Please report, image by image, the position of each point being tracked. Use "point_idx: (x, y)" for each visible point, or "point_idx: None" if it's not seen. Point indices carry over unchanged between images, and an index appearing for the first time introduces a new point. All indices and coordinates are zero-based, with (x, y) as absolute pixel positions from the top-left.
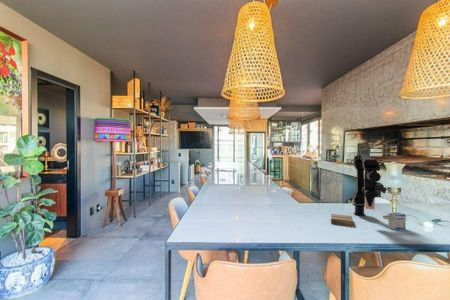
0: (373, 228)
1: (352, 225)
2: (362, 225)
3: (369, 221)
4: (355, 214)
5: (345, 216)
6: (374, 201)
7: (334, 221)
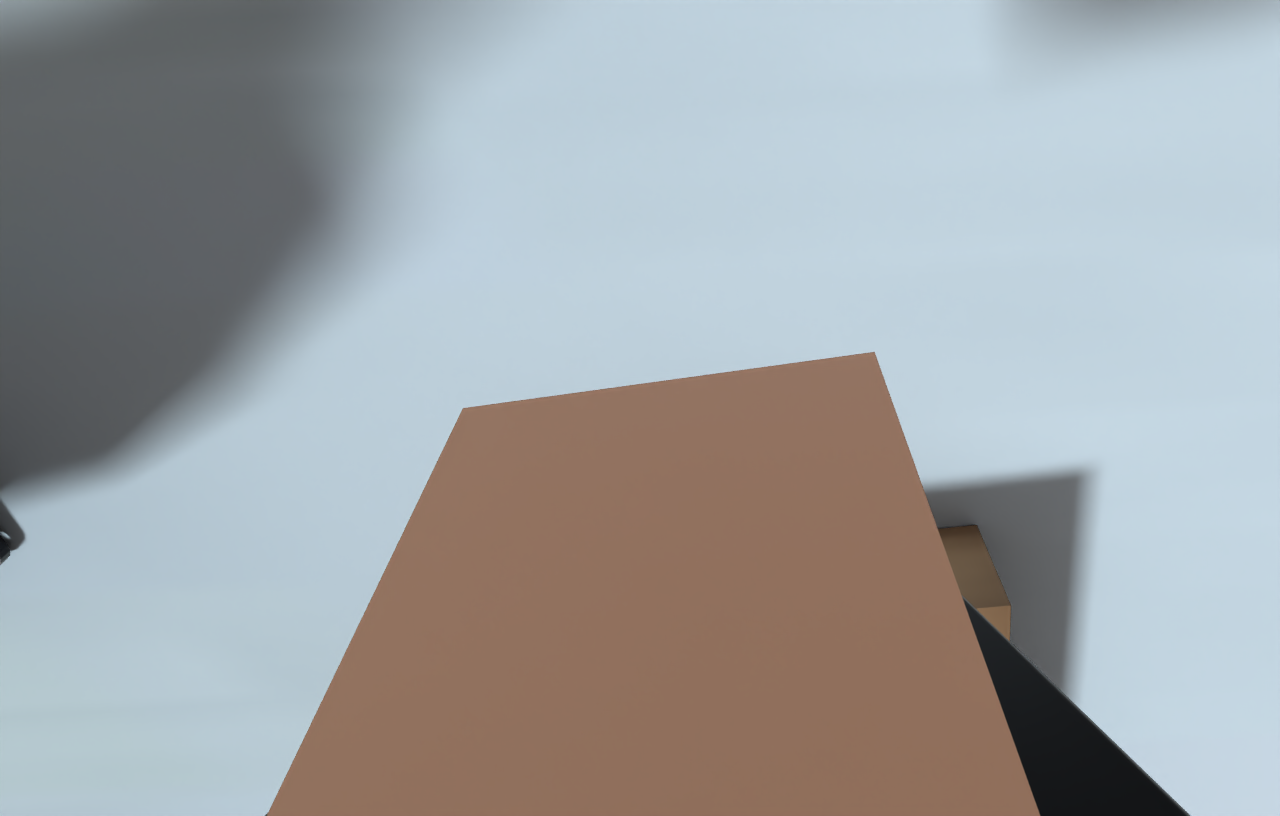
0: (937, 132)
1: (980, 544)
2: None
3: (301, 257)
4: (2, 550)
5: None
6: (1016, 752)
7: None
